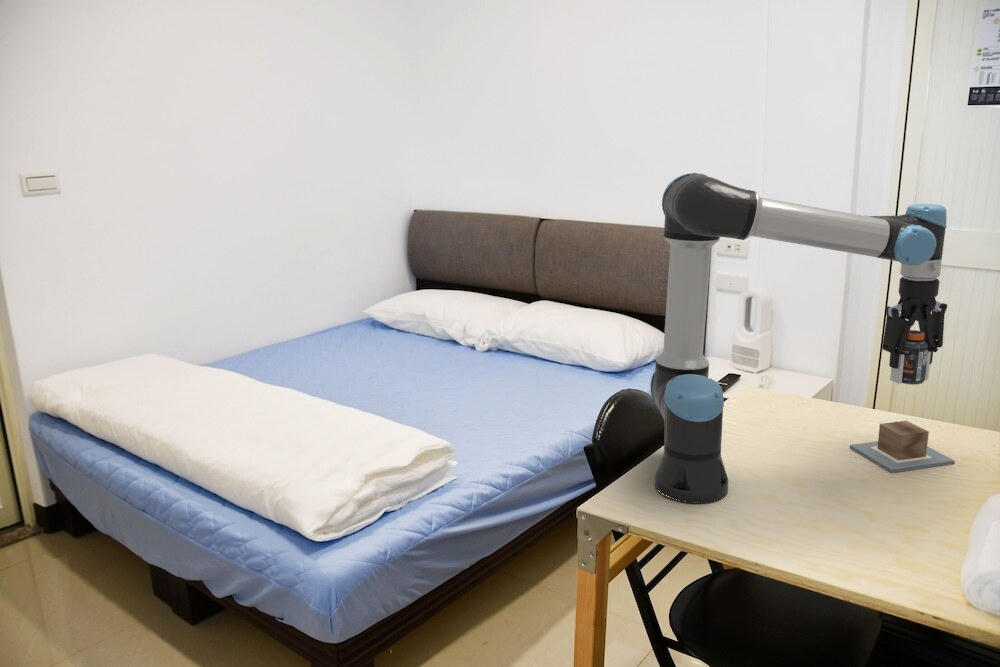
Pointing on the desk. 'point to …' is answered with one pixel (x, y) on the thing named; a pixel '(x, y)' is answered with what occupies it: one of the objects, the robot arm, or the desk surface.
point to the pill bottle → (914, 358)
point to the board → (895, 465)
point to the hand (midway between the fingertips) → (908, 379)
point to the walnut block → (903, 440)
